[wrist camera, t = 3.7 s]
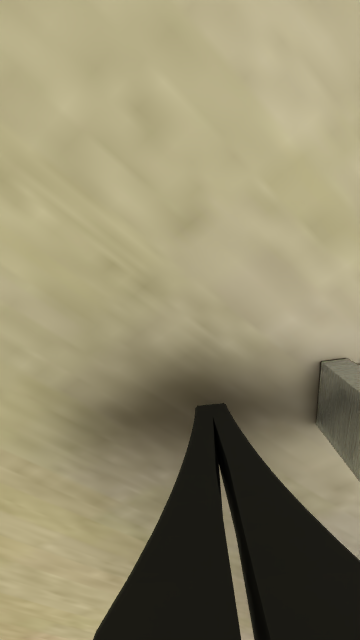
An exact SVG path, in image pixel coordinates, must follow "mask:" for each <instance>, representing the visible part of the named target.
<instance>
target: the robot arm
mask: <svg viewBox="0 0 360 640" xmlns="http://www.w3.org/2000/svg"><path fill="white" fill-rule="evenodd" d="M219 466H220V470H221V475H222V479H223V483H224V487H225V491H226V495H227V499H228V503H229V507H230V511H231V516H232V520H233V524H234V528H235V533H236V538H237V543H238V548H239V554H240V560H241V565H242V571H243V576H244V582H245V588H246V594H247V599H248V605H249V611H250V616H251V622H252V628H253V634H254V639H255V640H360V560H359V559H358V558H357V557H355V556H354V555H353V554H352V553H351V552H350V551H349V550H348V549H347V548H346V547H345V546H344V545H342V544H341V543H340V542H339V541H338V540H337V539H336V538H335V537H334V536H333V535H332V534H331V533H330V532H329V531H328V530H327V529H326V528H325V527H324V526H323V525H322V524H321V523H320V522H319V521H318V520H317V519H316V518H315V517H314V516H313V515H312V514H311V513H310V512H309V511H308V510H307V509H306V508H305V507H304V506H303V505H302V504H301V503H300V502H299V501H298V500H297V499H296V498H295V497H294V495H293V494H292V493H291V492H290V491H289V490H288V489H287V488H286V487H285V486H284V485H283V483H282V482H281V481H280V480H279V479H278V478H277V477H276V475H275V474H274V473H273V472H272V471H271V470H270V468H269V467H268V466H267V465H266V463H265V462H264V461H263V460H262V458H261V457H260V456H259V455H258V453H257V452H256V451H255V449H254V448H253V447H252V445H251V444H250V443H249V441H248V440H247V438H246V437H245V436H244V434H243V433H242V431H241V430H240V428H239V427H238V425H237V424H236V422H235V420H234V419H233V417H232V415H231V414H230V412H229V410H228V408H227V406H226V404H224V403H220V404H211V405H202V406H197V407H196V408H195V419H194V424H193V429H192V433H191V437H190V441H189V444H188V448H187V451H186V454H185V457H184V460H183V463H182V466H181V469H180V472H179V474H178V477H177V480H176V482H175V485H174V487H173V490H172V492H171V494H170V497H169V499H168V501H167V503H166V506H165V508H164V510H163V512H162V514H161V516H160V519H159V521H158V523H157V525H156V527H155V529H154V531H153V533H152V535H151V537H150V538H149V540H148V542H147V544H146V546H145V548H144V550H143V552H142V553H141V555H140V557H139V559H138V561H137V563H136V565H135V567H134V568H133V570H132V572H131V574H130V575H129V577H128V579H127V581H126V582H125V584H124V586H123V587H122V589H121V591H120V592H119V594H118V596H117V597H116V599H115V601H114V602H113V604H112V606H111V608H110V609H109V611H108V613H107V614H106V616H105V618H104V619H103V621H102V623H101V624H100V626H99V628H98V629H97V631H96V633H95V636H94V639H93V640H241V635H240V629H239V622H238V615H237V609H236V602H235V596H234V589H233V582H232V576H231V569H230V562H229V556H228V549H227V542H226V536H225V529H224V522H223V513H222V500H221V487H220V475H219Z"/></svg>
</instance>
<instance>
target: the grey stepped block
mask: <svg viewBox="0 0 360 640" xmlns="http://www.w3.org/2000/svg"><path fill="white" fill-rule="evenodd" d="M316 425H317V426H318V428H319V429H320V430H321V432H322V433H323V434H324V436H325V437H326V438H327V439H328V441H329V442H330V443H331V445H332V446H333V447H334V449H335V450H336V451H337V453H338V454H339V455H340V457H341V458H342V459H343V460H344V462H345V463H346V464H347V466H348V467H349V468H350V470H351V471H352V472H353V474H354V475H355V476H356V477H357V479H358V480H359V481H360V365H357V364H356V363H354V362H353V361H351V360H350V359H340V360H332V361H323V362H321V373H320V386H319V398H318V411H317V423H316Z"/></svg>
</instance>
